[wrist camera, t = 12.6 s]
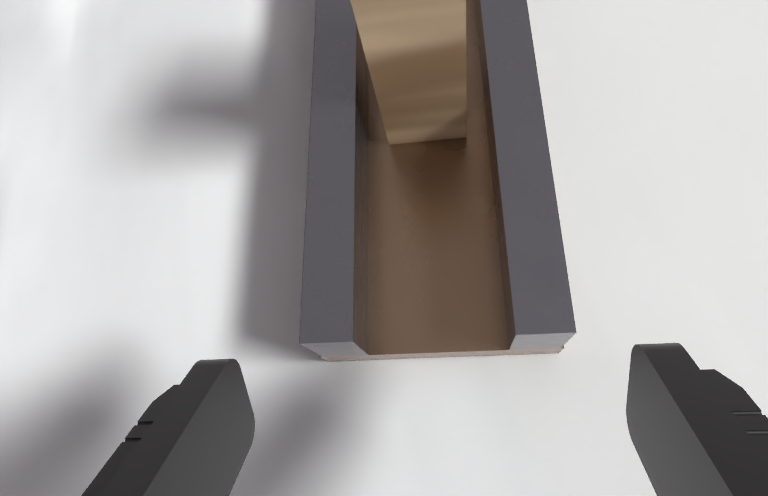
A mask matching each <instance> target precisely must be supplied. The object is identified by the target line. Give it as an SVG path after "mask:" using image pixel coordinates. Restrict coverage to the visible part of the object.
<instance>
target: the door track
mask: <svg viewBox="0 0 768 496" xmlns="http://www.w3.org/2000/svg"><path fill="white" fill-rule="evenodd" d="M466 91H467V137H464V138H453V139H443V140H433V141H422V142H412V143H402V144H392V145H389V142H388V139H387V135H386V131H385V127H384V124H383V120H382V116H381V113H380V109H379V105H378V101H377V98H376V94H375V90H374V87H373V83H372V79H371V75H370V72H369V68H368V64H367V61H366V57H365V53H364V49H363V46H362V42H361V38H360V35H359V31H358V27H357V23H356V20H355V16H354V12H353V8H352V5H351V1H350V0H316V17H315V37H314V57H313V77H312V97H311V118H310V138H309V158H308V178H307V199H306V219H305V239H304V259H303V279H302V300H301V320H300V340H299V344H301V345H302V346H304V347H306V348H308V349H309V350H311V351H313V352H315V353H316V354H318V355H319V357H320V358H322V359H324V360H326V361H347V360H376V359H404V358H432V357H461V356H489V355H517V354H546V353H559V352H560V351H561V350H562V349H563V348H564V344H565V343H566V342H567V341H568V340H569V339H570V338H571V337H572V336H573V335H574V334H575V333H576V327H575V321H574V314H573V307H572V301H571V294H570V287H569V281H568V274H567V267H566V261H565V254H564V247H563V241H562V234H561V227H560V221H559V214H558V207H557V201H556V194H555V187H554V181H553V174H552V167H551V160H550V154H549V147H548V140H547V134H546V127H545V120H544V114H543V107H542V100H541V94H540V87H539V80H538V74H537V67H536V60H535V54H534V47H533V40H532V34H531V27H530V20H529V14H528V7H527V0H466Z"/></svg>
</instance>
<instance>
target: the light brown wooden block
mask: <svg viewBox="0 0 768 496" xmlns="http://www.w3.org/2000/svg"><path fill="white" fill-rule="evenodd" d="M350 1H351V5H352V8H353V12H354V16H355V20H356V23H357V27H358V31H359V35H360V38H361V42H362V46H363V49H364V53H365V57H366V61H367V64H368V68H369V72H370V75H371V79H372V83H373V87H374V90H375V94H376V98H377V101H378V105H379V109H380V113H381V116H382V120H383V124H384V127H385V131H386V135H387V139H388V142H389V145H392V144H402V143H412V142H422V141H433V140H443V139H453V138H464V137H467V91H466V0H350Z"/></svg>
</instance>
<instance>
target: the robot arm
mask: <svg viewBox="0 0 768 496" xmlns="http://www.w3.org/2000/svg"><path fill="white" fill-rule="evenodd" d="M626 415H627V423H628V429H629V433H630V436H631V439H632V442H633V444H634V446H635V448H636V451H637V453H638V455H639V457H640V459H641V462H642V464H643V466H644V468H645V470H646V472H647V475H648V477H649V479H650V481H651V483H652V486H653V488H654V490H655V492H656V494H657V496H768V418H767V417H766V416H765V415H762V413H761V410H760V408H759V407H758V406H757V405H756V404H755V402H754V401H753V400H752V399H751V398H750V396H749V395H748V394H747V393H746V391H745V390H744V389H743V388H742V387H740V386H739V385H737V384H736V383H734V382H733V381H731V380H730V379H728V378H727V377H725V376H724V375H722V374H721V373H719V372H718V371H716V370H715V369H711V370H700V369H699V367H698V366H697V365H696V363H695V362H694V361H693V359H692V358H691V357H690V355H689V354H688V353H687V351H686V350H685V349H684V347H683V346H682V345H680V344H679V343H664V344H638V345H634V347H633V349H632V353H631V362H630V373H629V384H628V394H627V405H626ZM254 429H255V420H254V414H253V410H252V407H251V403H250V400H249V396H248V393H247V389H246V386H245V382H244V379H243V375H242V372H241V368H240V365H239V363H238V362H237V361H236V360H235V359H217V360H200V361H198V362H196V363H195V364H194V366H193V367H192V369H191V370H190V371H189V373H188V374H187V375H186V377H185V378H184V380H183V381H182V382H181V384H180V385H174V386H172V387H171V388H170V389H168V390H167V391H166V392H165V393H163V394H162V395H161V396H159V397H158V398H157V399H156V400H154V401H153V402H152V403H151V405H150V406H149V407H148V409H147V410H146V411H145V413H144V414H143V415H142V417H141V418H140V419H139V420H138V425H135V426H134V427H133V428H132V430H131V431H130V432H129V434H128V435H127V436H126V438H125V442H122V443H121V444H120V446H119V447H118V448H117V450H116V451H115V452H114V453H113V455H112V456H111V457H110V459H109V460H108V461H107V463H106V464H105V465H104V467H103V468H102V469H101V471H100V472H99V473H98V475H97V476H96V477H95V479H94V480H93V481H92V483H91V484H90V485H89V486H88V488H87V489H86V490H85V492H84V493H83V494H82V496H229V494H230V492H231V489H232V487H233V485H234V483H235V480H236V478H237V476H238V474H239V471H240V469H241V467H242V465H243V462H244V460H245V458H246V456H247V453H248V451H249V449H250V447H251V444H252V441H253V437H254Z"/></svg>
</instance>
